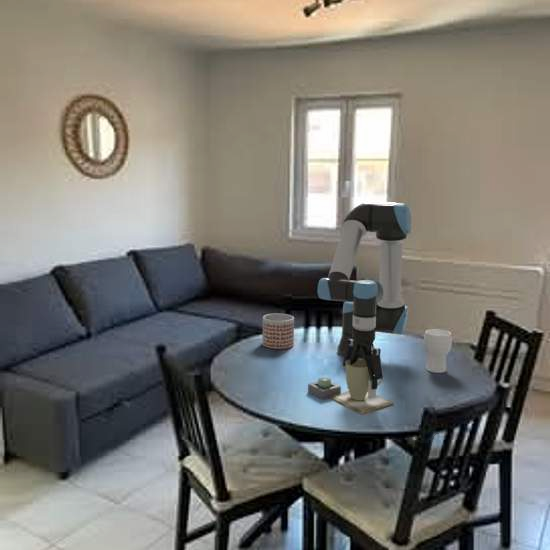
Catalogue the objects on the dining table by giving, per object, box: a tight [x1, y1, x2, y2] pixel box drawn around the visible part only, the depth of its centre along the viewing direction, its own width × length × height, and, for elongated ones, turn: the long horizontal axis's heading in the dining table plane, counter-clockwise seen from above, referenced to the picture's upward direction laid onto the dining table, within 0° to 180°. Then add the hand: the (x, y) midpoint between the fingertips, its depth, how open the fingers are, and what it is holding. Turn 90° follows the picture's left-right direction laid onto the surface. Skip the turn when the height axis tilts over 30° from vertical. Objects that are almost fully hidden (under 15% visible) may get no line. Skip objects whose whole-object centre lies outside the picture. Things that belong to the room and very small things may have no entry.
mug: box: [345, 358, 384, 400], centre depth 189 cm, size 11×10×12 cm
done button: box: [317, 376, 332, 389], centre depth 196 cm, size 4×4×3 cm
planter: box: [262, 313, 295, 350], centre depth 249 cm, size 14×14×13 cm
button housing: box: [307, 380, 342, 401], centre depth 196 cm, size 8×8×3 cm
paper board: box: [328, 390, 394, 415], centre depth 190 cm, size 16×14×1 cm
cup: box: [422, 328, 453, 374], centre depth 220 cm, size 11×11×15 cm
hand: (361, 392), depth 190 cm, fingers closed on mug, 9 cm apart
